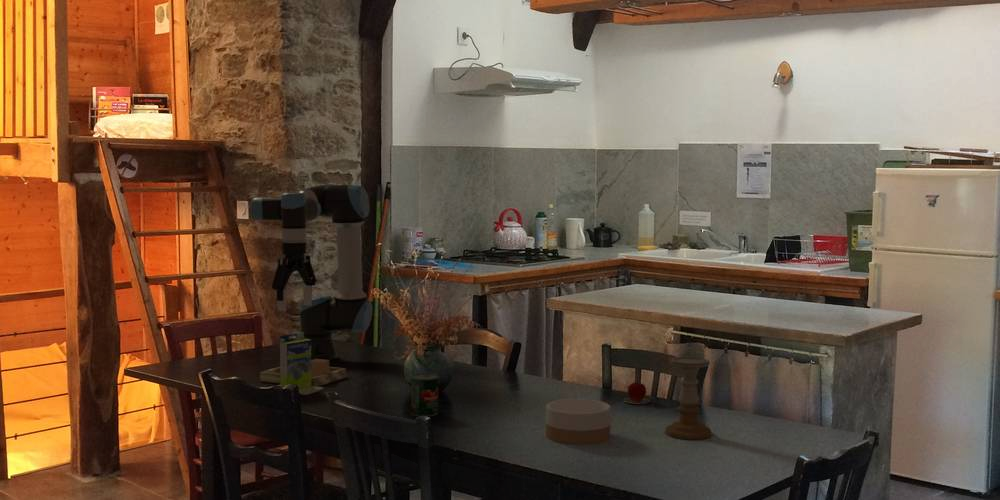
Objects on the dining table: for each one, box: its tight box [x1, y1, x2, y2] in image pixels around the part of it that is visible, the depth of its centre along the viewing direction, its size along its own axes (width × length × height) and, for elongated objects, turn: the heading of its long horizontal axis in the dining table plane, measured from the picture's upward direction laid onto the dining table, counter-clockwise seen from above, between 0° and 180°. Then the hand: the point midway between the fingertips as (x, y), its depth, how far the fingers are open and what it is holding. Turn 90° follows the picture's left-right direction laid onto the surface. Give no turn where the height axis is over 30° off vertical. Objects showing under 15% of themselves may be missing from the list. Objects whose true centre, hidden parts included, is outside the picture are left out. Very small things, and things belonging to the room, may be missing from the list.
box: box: [279, 332, 311, 388], centre depth 329 cm, size 10×4×17 cm, turn 142°
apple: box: [623, 382, 650, 405], centre depth 314 cm, size 8×8×6 cm
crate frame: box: [259, 366, 347, 387], centre depth 346 cm, size 18×22×3 cm
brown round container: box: [545, 398, 612, 446], centre depth 274 cm, size 17×17×8 cm
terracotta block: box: [311, 359, 330, 377], centre depth 343 cm, size 4×5×7 cm
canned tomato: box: [410, 373, 439, 417], centre depth 298 cm, size 8×8×11 cm
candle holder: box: [664, 356, 712, 440], centre depth 276 cm, size 12×12×20 cm
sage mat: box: [277, 384, 324, 396], centre depth 330 cm, size 9×15×1 cm, turn 65°
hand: (295, 308), depth 328 cm, fingers open, 13 cm apart
